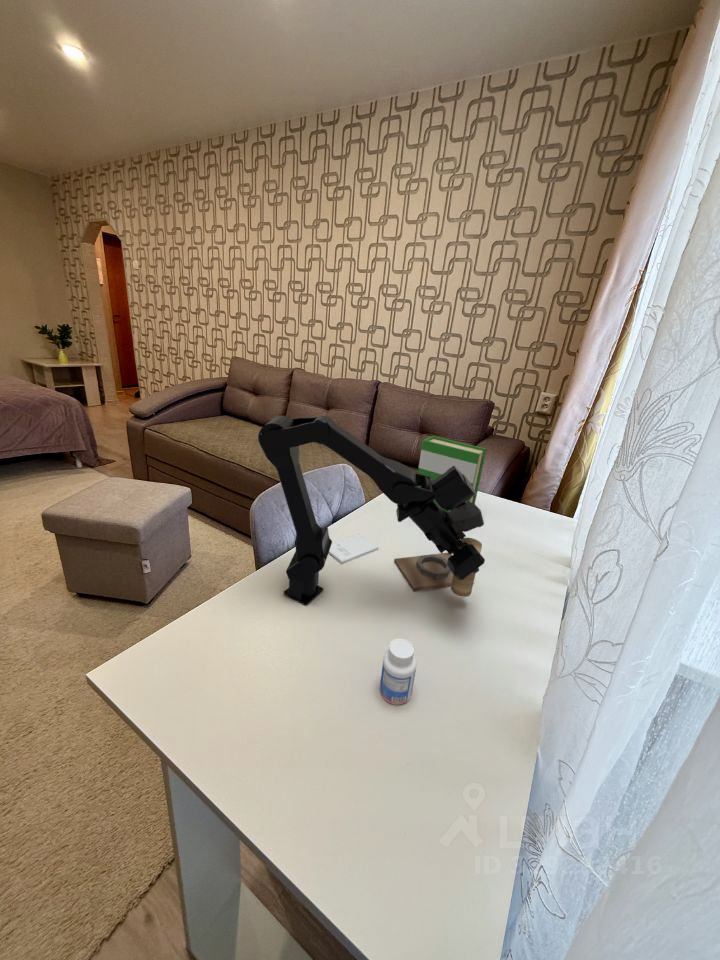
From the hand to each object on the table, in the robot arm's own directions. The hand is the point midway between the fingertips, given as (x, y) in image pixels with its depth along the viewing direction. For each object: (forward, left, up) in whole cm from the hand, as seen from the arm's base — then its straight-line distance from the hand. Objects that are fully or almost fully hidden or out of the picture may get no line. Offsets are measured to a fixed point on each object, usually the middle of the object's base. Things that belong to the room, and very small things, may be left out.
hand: (472, 564), depth 84 cm
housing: (+7, +10, -10) cm, 16 cm away
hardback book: (+39, +19, -11) cm, 45 cm away
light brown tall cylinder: (-1, +1, -7) cm, 7 cm away
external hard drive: (+3, +32, -11) cm, 34 cm away
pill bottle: (-29, +3, -11) cm, 31 cm away
